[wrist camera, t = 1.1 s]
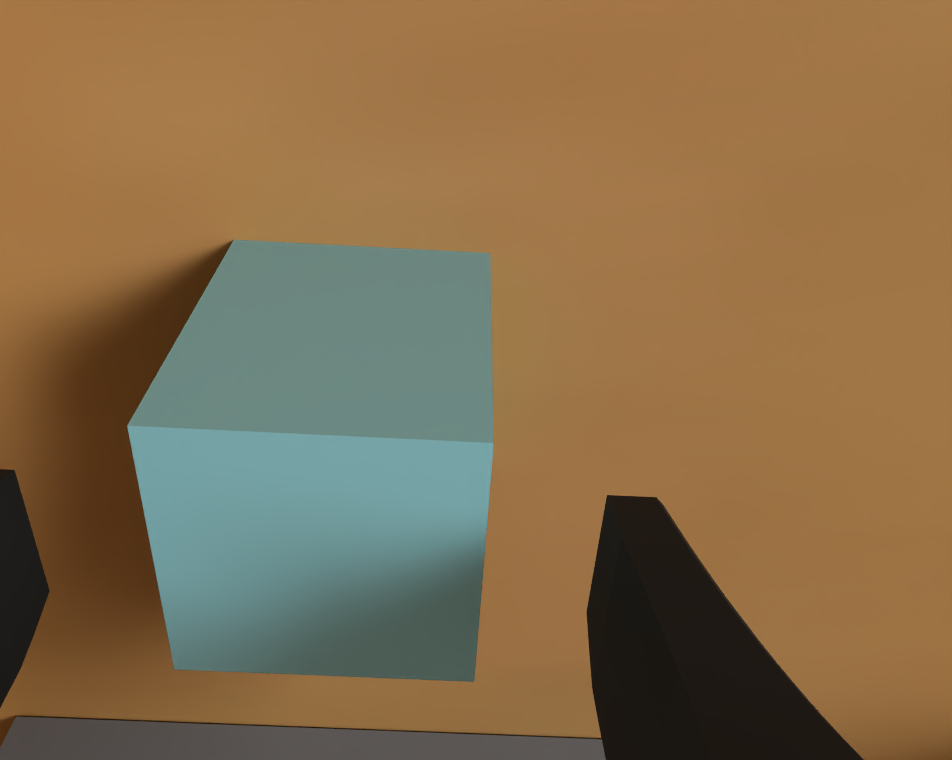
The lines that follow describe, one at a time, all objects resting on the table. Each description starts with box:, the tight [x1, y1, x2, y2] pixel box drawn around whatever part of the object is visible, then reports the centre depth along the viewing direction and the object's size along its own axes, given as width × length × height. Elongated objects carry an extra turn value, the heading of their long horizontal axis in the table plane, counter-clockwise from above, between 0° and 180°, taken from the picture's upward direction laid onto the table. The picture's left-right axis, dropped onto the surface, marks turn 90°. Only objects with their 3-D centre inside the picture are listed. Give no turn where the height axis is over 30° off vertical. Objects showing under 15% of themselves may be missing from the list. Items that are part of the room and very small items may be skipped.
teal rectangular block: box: [127, 240, 494, 682], centre depth 13 cm, size 4×4×5 cm
